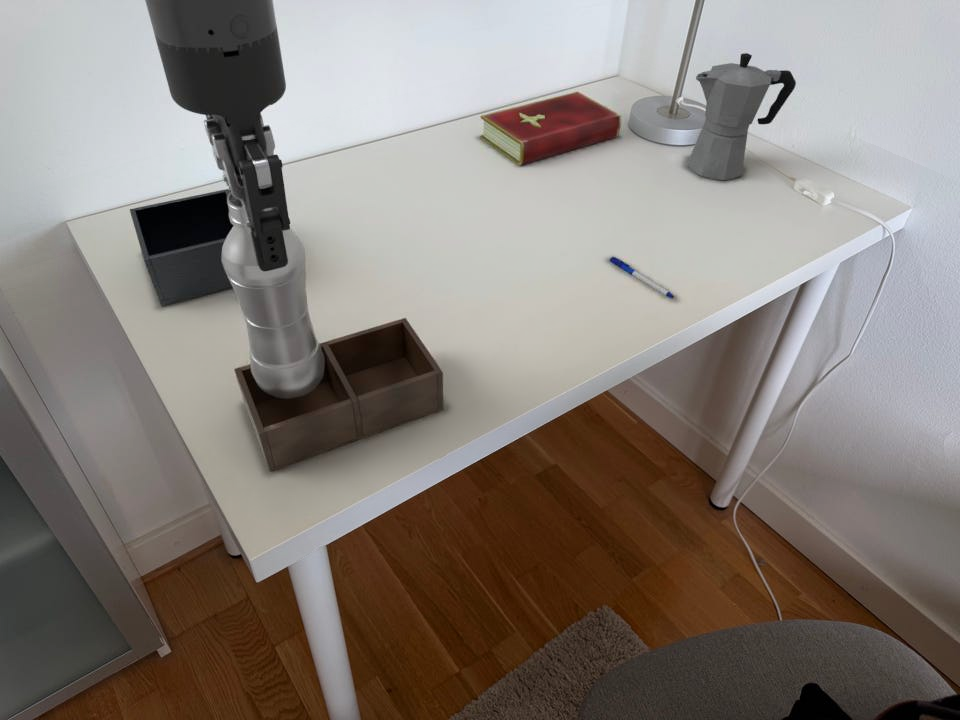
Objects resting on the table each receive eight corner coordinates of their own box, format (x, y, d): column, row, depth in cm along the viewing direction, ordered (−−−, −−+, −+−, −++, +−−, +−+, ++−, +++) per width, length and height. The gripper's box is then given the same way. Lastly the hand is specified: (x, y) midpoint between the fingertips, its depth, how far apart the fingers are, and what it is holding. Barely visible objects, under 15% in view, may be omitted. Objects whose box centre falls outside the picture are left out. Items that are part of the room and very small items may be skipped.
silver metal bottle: (321, 409, 63) (287, 220, 50) (247, 406, 63) (193, 216, 50) (333, 361, 68) (305, 177, 55) (264, 359, 68) (220, 173, 54)
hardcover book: (618, 137, 120) (622, 114, 117) (520, 166, 111) (522, 142, 108) (575, 112, 127) (578, 89, 124) (480, 137, 118) (480, 114, 115)
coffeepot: (682, 181, 109) (712, 65, 96) (667, 154, 115) (693, 42, 103) (777, 181, 109) (818, 66, 97) (757, 154, 116) (793, 43, 104)
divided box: (269, 471, 65) (258, 434, 61) (245, 406, 71) (233, 368, 67) (443, 409, 71) (443, 372, 68) (407, 354, 77) (405, 317, 74)
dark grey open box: (161, 306, 82) (143, 259, 78) (145, 254, 90) (129, 209, 86) (262, 280, 87) (251, 234, 82) (239, 233, 95) (228, 188, 90)
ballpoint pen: (607, 262, 92) (608, 256, 91) (611, 260, 93) (613, 254, 92) (670, 300, 86) (672, 293, 86) (675, 297, 87) (676, 291, 86)
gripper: (136, -3, 47) (196, 213, 58) (174, 69, 38) (236, 308, 49) (246, -13, 50) (283, 195, 61) (306, 51, 41) (337, 282, 52)
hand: (262, 245), depth 55 cm, fingers closed on silver metal bottle, 6 cm apart
